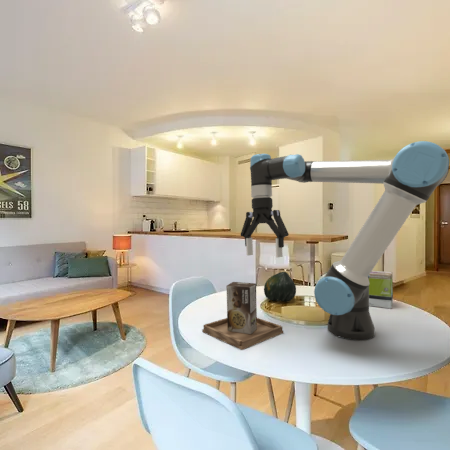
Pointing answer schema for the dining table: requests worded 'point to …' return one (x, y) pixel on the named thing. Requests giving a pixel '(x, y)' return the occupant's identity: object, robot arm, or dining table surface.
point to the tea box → (380, 289)
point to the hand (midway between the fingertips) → (263, 256)
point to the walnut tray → (242, 339)
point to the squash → (280, 287)
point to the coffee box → (241, 307)
